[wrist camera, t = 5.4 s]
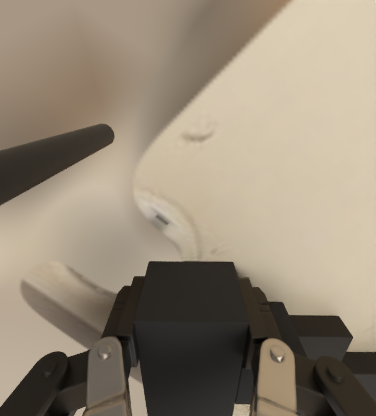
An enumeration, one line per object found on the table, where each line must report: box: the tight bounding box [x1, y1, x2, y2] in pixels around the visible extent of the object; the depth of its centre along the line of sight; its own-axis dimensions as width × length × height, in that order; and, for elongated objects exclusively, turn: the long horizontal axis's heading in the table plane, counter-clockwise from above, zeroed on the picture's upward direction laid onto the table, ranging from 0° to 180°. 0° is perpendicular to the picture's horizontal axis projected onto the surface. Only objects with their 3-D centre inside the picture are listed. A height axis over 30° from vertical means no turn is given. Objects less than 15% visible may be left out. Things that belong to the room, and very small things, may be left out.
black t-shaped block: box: [134, 261, 308, 416], centre depth 14 cm, size 10×8×4 cm
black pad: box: [289, 316, 376, 416], centre depth 17 cm, size 12×14×2 cm
